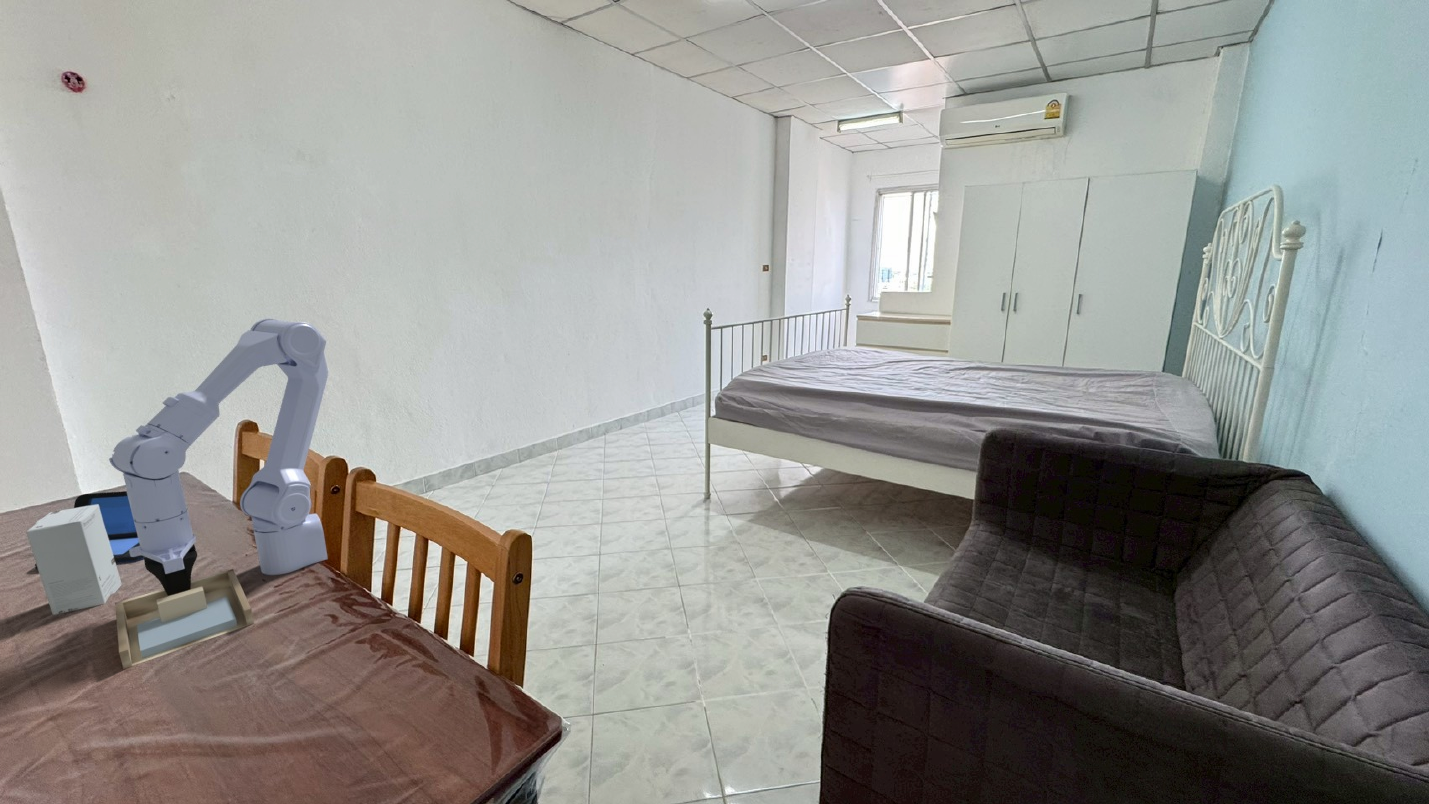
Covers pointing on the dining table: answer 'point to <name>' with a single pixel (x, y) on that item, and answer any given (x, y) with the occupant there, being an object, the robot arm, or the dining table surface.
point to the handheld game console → (115, 522)
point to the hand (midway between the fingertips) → (180, 596)
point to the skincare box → (74, 558)
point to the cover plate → (184, 621)
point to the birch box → (147, 610)
